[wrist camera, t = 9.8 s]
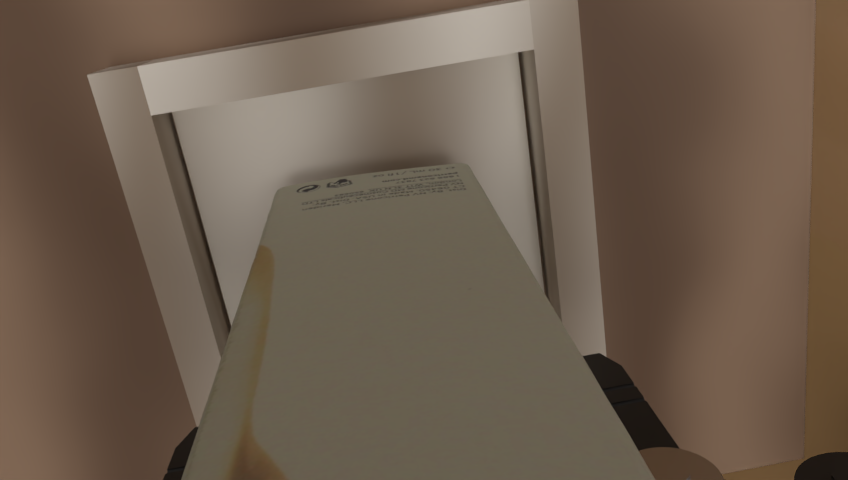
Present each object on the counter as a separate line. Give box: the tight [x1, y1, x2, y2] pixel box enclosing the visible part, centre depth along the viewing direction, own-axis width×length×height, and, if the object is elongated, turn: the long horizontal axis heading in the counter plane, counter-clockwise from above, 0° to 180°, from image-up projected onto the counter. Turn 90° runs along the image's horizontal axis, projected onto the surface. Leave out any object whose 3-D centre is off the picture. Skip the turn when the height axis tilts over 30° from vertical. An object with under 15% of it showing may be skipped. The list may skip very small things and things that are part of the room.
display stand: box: [0, 0, 816, 480], centre depth 19 cm, size 22×16×6 cm
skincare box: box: [181, 163, 655, 480], centre depth 11 cm, size 6×4×12 cm
